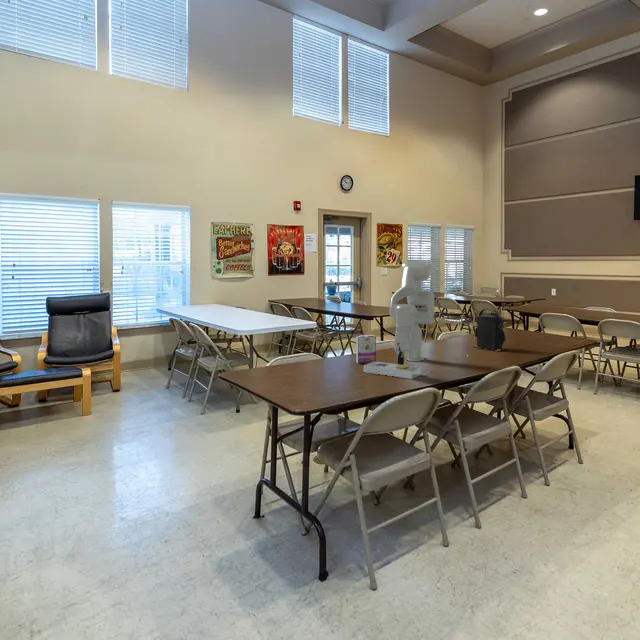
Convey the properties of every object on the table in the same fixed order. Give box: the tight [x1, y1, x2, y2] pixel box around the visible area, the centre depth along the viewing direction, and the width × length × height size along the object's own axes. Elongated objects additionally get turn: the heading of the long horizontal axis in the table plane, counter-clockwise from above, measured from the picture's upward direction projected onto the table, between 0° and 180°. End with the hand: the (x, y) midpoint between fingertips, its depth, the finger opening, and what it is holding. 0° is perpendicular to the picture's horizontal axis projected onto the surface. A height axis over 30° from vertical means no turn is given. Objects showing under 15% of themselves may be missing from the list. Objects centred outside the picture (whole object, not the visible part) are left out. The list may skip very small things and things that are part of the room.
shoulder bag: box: [474, 308, 507, 351], centre depth 322 cm, size 23×9×28 cm, turn 34°
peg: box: [396, 350, 408, 369], centre depth 249 cm, size 4×4×10 cm
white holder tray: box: [363, 361, 422, 380], centre depth 253 cm, size 12×28×4 cm, turn 56°
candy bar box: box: [355, 334, 377, 365], centre depth 280 cm, size 11×5×16 cm, turn 101°
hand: (402, 363), depth 249 cm, fingers closed on peg, 4 cm apart
